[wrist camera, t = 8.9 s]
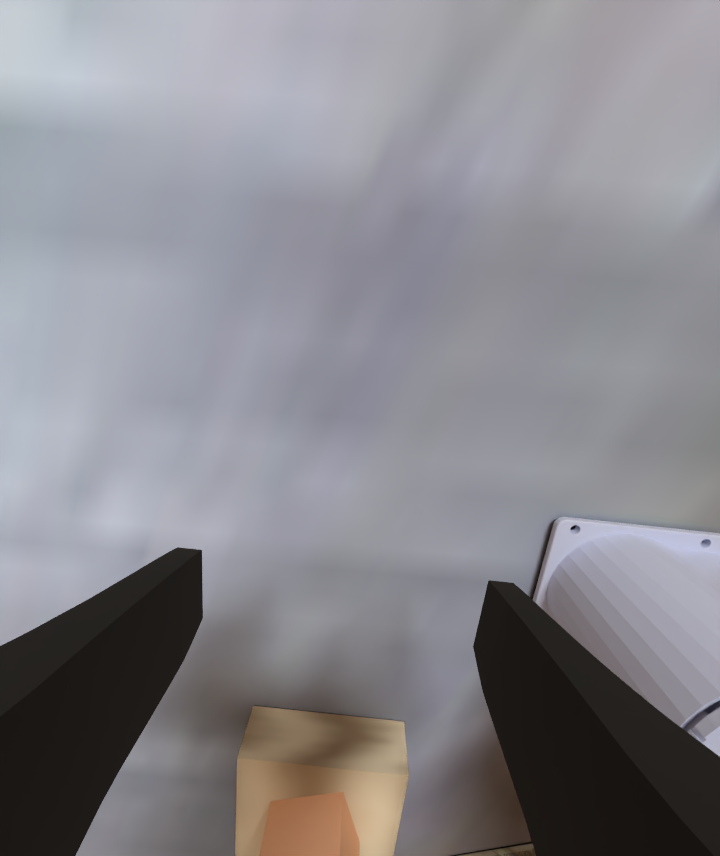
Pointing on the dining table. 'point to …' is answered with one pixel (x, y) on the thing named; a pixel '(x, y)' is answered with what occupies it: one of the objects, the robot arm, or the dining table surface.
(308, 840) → the block
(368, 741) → the riser
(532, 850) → the coffee box
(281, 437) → the dining table surface
